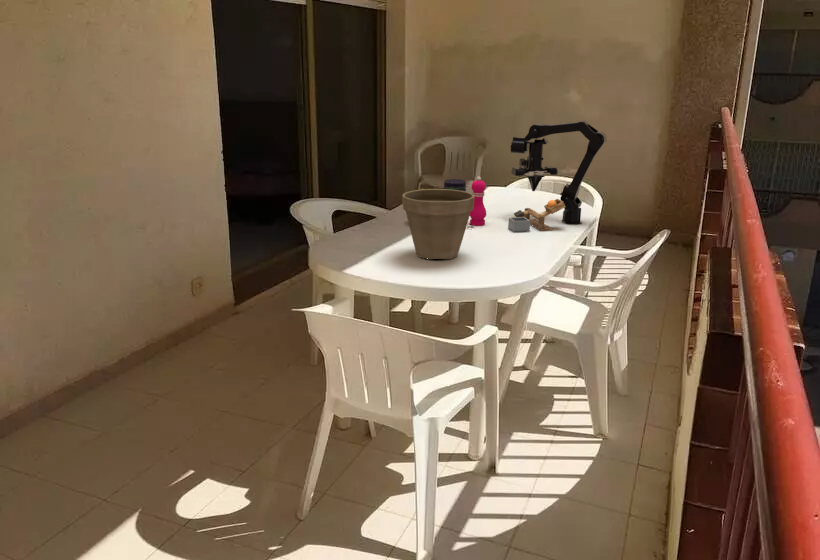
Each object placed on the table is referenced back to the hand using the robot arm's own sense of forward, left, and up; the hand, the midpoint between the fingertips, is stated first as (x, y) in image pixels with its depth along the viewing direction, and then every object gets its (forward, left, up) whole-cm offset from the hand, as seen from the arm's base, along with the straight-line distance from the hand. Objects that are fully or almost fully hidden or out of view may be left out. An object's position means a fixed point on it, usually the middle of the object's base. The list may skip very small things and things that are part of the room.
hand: (533, 191), depth 284 cm
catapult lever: (+2, +13, -6) cm, 15 cm away
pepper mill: (+26, +5, -12) cm, 29 cm away
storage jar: (+31, -14, -12) cm, 36 cm away
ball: (-1, +18, -2) cm, 18 cm away
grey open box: (+12, +18, -12) cm, 25 cm away
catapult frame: (+2, +12, -12) cm, 17 cm away
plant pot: (+53, +46, -12) cm, 71 cm away
